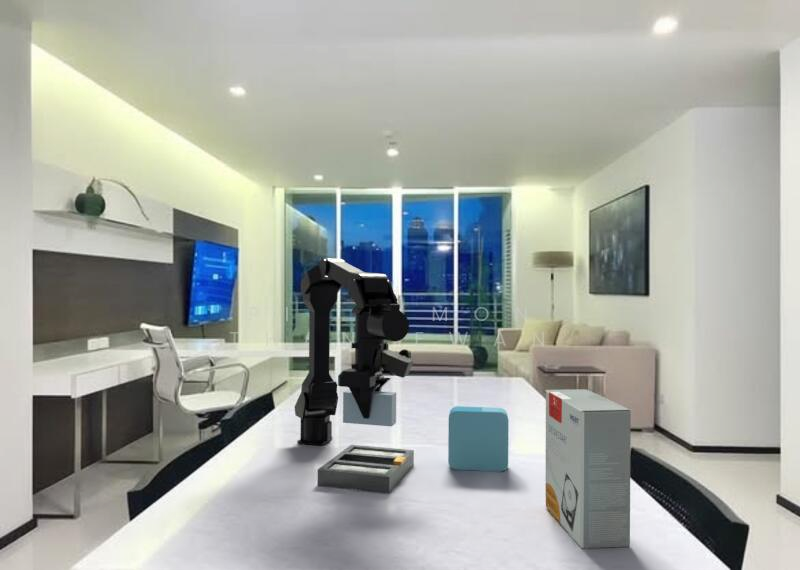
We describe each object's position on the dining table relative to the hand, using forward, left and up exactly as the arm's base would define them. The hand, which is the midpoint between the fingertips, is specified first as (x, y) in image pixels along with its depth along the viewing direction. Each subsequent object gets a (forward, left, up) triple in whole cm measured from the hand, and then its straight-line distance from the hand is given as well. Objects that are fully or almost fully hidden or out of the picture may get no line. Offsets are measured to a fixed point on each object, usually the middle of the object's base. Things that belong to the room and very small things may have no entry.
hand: (369, 416), depth 112 cm
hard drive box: (+40, -13, -12) cm, 44 cm away
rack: (0, 0, -11) cm, 11 cm away
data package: (+20, +11, -12) cm, 26 cm away
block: (0, 0, -1) cm, 1 cm away
